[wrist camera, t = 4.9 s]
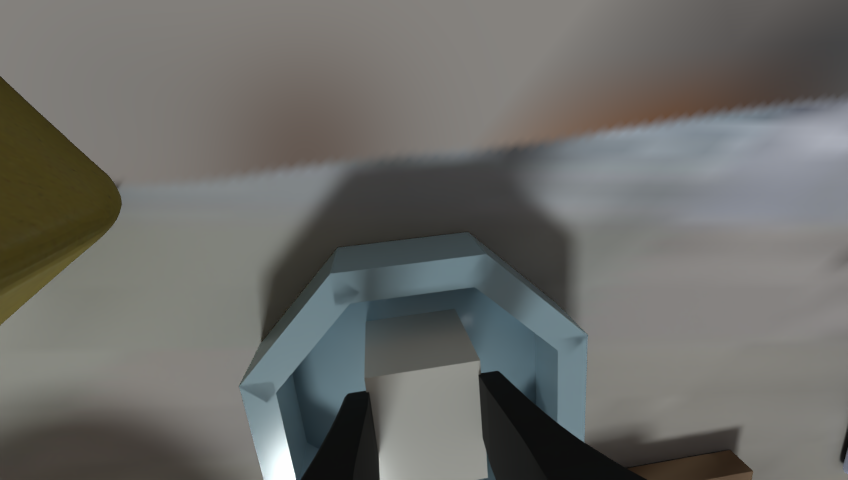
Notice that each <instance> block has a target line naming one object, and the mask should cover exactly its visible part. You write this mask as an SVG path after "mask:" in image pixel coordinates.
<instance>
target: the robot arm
mask: <svg viewBox="0 0 848 480" xmlns="http://www.w3.org/2000/svg"><path fill="white" fill-rule="evenodd" d="M478 377H479V392H480V407H481V422H482V437H483V441H484V445H485V448H486V452H487V455H488V459H489V462H490V466H491V469H492V471H493V474H494V476H495V479H496V480H647V479H645V478H643V477H642V476H640V475H638V474H636V473H634V472H632V471H630V470H629V469H627V468H625V467H623V466H621V465H620V464H618V463H616V462H614V461H613V460H611V459H609V458H608V457H606V456H605V455H603V454H601V453H600V452H598V451H597V450H595V449H594V448H592V447H590V446H589V445H587V444H586V443H584V442H583V441H581V440H580V439H578V438H577V437H576V436H574V435H573V434H572V433H570V432H569V431H568V430H566V429H565V428H564V427H562V426H561V425H560V424H558V423H557V422H556V421H555V420H553V419H552V418H551V417H550V416H548V415H547V414H546V413H545V412H544V411H542V410H541V409H540V408H539V407H538V406H537V405H535V404H534V403H533V402H532V401H531V400H530V399H528V398H527V397H526V396H525V395H524V394H523V393H522V392H521V391H520V390H519V389H518V388H516V387H515V386H514V385H513V384H512V383H511V382H510V381H509V380H508V379H507V378H506V377H505V376H504V375H503V374H502V373H500V372H499V371H492V372H485V373H481V375H478ZM843 470H844V472H845V473H847V474H848V449H847V453H846V457H845V460H844V464H843ZM301 480H380V473H379V455H378V448H377V441H376V434H375V428H374V421H373V414H372V407H371V401H370V394H369V392H366V391H360V392H353V393H348V394H347V395H346V396H345V397H344V400H343V402H342V405H341V407H340V409H339V412H338V414H337V416H336V418H335V420H334V422H333V424H332V426H331V428H330V430H329V432H328V434H327V436H326V437H325V439H324V441H323V443H322V445H321V447H320V448H319V450H318V452H317V454H316V455H315V457H314V459H313V460H312V462H311V463H310V465H309V467H308V468H307V470H306V472H305V473H304V475H303V476H302V478H301Z"/></svg>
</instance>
